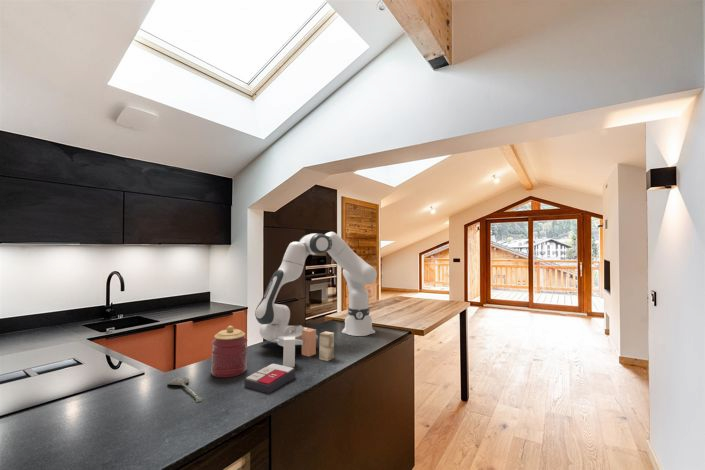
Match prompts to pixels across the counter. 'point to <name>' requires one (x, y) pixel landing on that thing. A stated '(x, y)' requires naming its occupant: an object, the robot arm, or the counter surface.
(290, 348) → the grey block
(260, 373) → the flat patterned box
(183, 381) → the grey axe
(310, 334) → the terracotta block
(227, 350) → the canister
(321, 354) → the ash block
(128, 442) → the counter surface
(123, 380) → the counter surface
